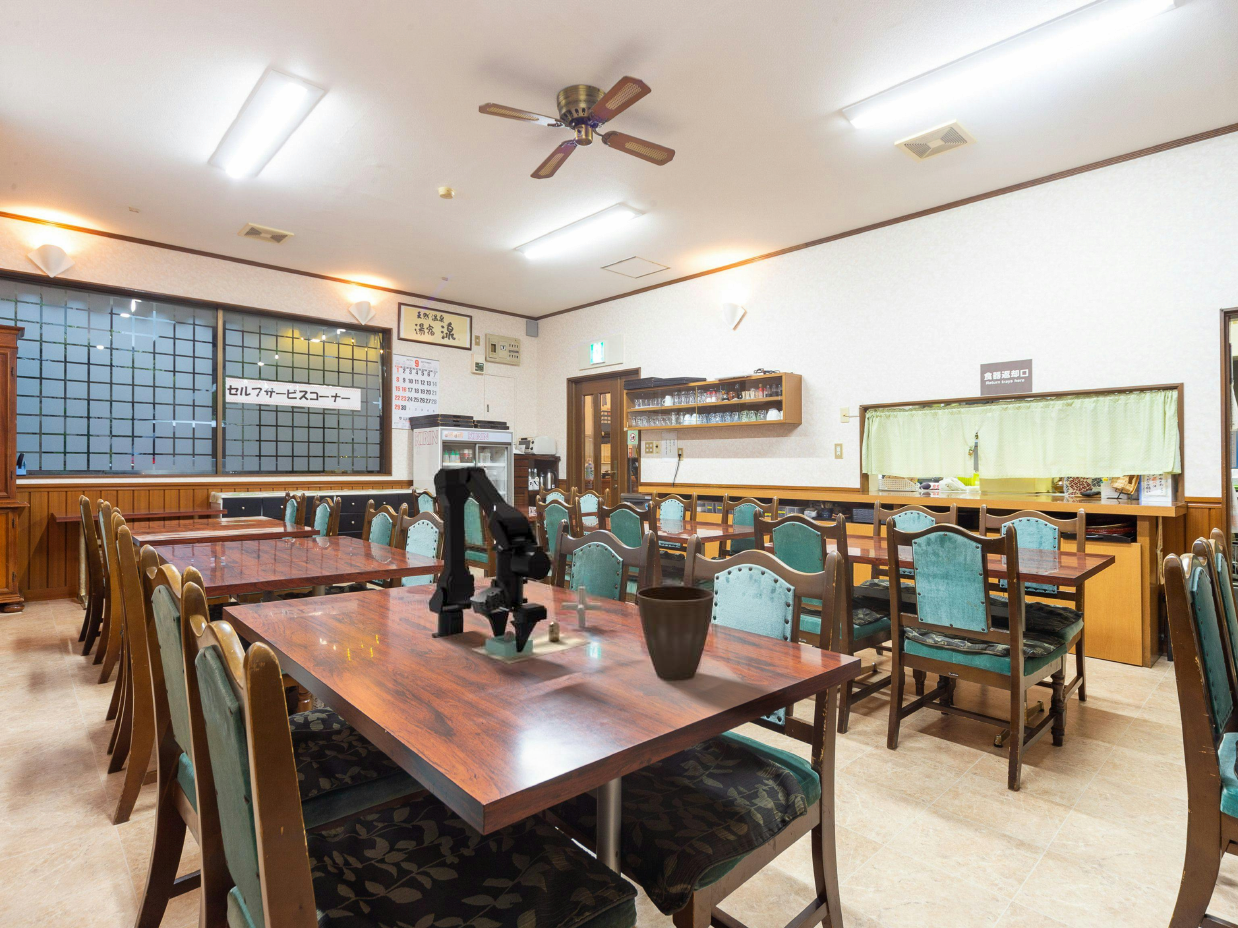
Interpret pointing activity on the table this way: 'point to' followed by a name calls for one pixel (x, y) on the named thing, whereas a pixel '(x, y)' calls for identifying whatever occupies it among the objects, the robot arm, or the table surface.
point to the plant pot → (675, 628)
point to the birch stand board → (536, 646)
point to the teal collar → (506, 647)
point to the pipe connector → (581, 606)
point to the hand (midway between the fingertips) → (509, 648)
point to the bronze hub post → (554, 632)
